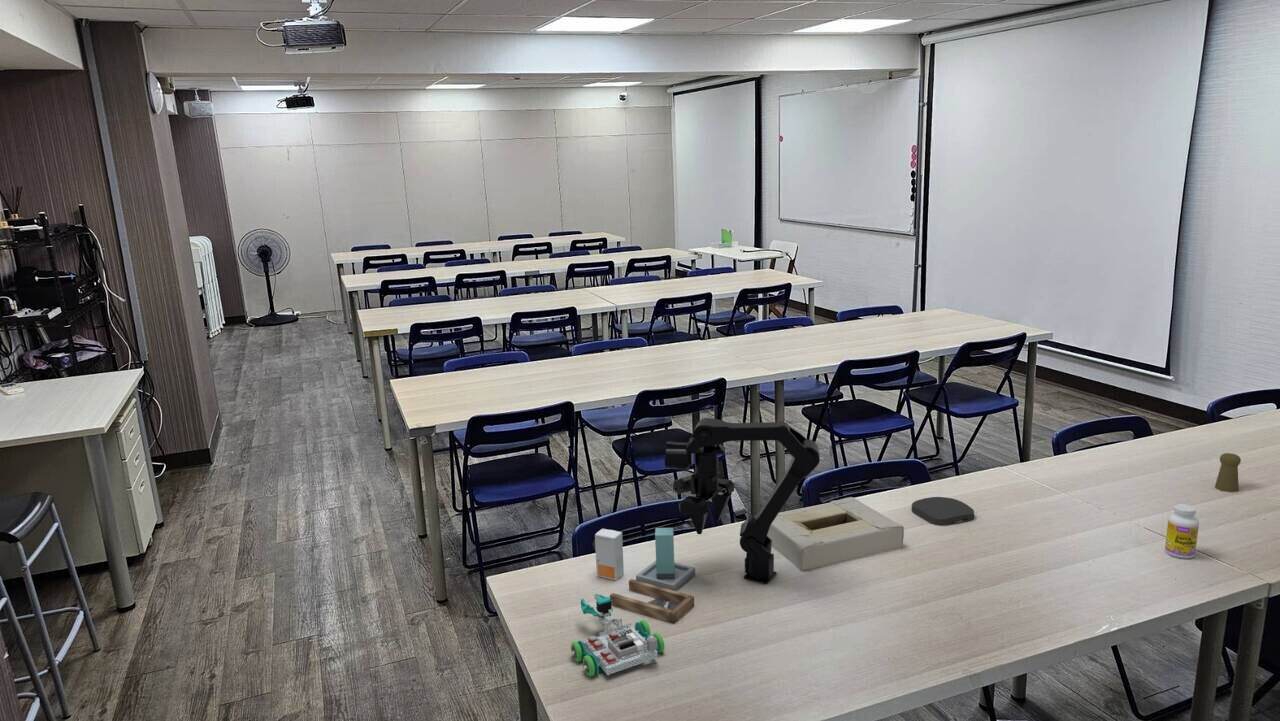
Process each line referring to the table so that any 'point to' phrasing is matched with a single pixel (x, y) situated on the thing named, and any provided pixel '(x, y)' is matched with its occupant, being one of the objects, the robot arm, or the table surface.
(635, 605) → the slot rail
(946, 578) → the table surface
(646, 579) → the tray
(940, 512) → the media streaming box
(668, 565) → the tall teal block
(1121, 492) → the table surface
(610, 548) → the skincare box
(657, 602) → the set of grey tiles
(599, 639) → the robot kit
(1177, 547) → the supplement bottle
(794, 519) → the box
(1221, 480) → the cork
